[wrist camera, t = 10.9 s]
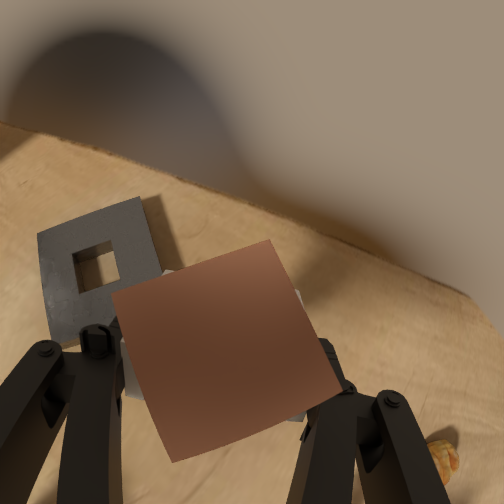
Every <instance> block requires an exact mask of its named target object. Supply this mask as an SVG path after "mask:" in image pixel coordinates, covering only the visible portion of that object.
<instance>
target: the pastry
mask: <svg viewBox="0 0 504 504" xmlns="http://www.w3.org/2000/svg"><path fill="white" fill-rule="evenodd" d="M427 446H428V448H429V451H430V453H431V455H432V458H433V460H434V463H435V465H436V467H437V470H438V472H439V475H440V477H441V480H442V482H443V485H445V484H446V483H448V482H449V480H450V477H451V476H452V475H453V474H454V473H455V472H457V470H458V468H459V456H458V454H457V452H456V450H455V448H454V446H453V445H452V444H451V443H449V442H448V441H447V440H445V439H442V440H438V441H434V442H430V443H428V444H427Z"/></svg>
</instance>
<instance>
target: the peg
mask: <svg viewBox="0 0 504 504" xmlns="http://www.w3.org/2000/svg"><path fill="white" fill-rule="evenodd" d="M111 296H112V300H113V304H114V307H115V311H116V315H117V318H118V322H119V325H120V329H121V332H122V335H123V339H124V342H125V345H126V348H127V351H128V354H129V357H130V360H131V363H132V366H133V369H134V372H135V375H136V378H137V380H138V383H139V386H140V389H141V391H142V394H143V397H144V399H145V402H146V404H147V407H148V409H149V412H150V414H151V417H152V419H153V421H154V424H155V426H156V429H157V431H158V433H159V435H160V438H161V440H162V442H163V444H164V447H165V449H166V451H167V453H168V455H169V457H170V459H171V462H172V463H174V462H177V461H181V460H184V459H187V458H190V457H193V456H196V455H199V454H202V453H205V452H208V451H211V450H214V449H217V448H220V447H222V446H225V445H228V444H230V443H233V442H236V441H238V440H241V439H243V438H246V437H248V436H251V435H253V434H256V433H258V432H260V431H263V430H265V429H267V428H270V427H272V426H274V425H276V424H279V423H281V422H283V421H285V420H287V419H289V418H292V417H294V416H296V415H298V414H300V413H302V412H304V411H306V410H308V409H310V408H312V407H314V406H316V405H318V404H320V403H322V402H324V401H326V400H327V399H329V398H331V397H333V396H335V395H337V394H339V393H340V392H342V391H343V390H342V388H341V386H340V383H339V381H338V379H337V377H336V375H335V373H334V371H333V369H332V366H331V364H330V362H329V360H328V358H327V356H326V354H325V352H324V350H323V347H322V345H321V343H320V341H319V339H318V337H317V335H316V333H315V331H314V329H313V327H312V324H311V322H310V320H309V318H308V316H307V314H306V312H305V310H304V308H303V306H302V304H301V302H300V300H299V298H298V296H297V294H296V291H295V289H294V287H293V285H292V283H291V281H290V279H289V277H288V275H287V273H286V271H285V269H284V267H283V265H282V263H281V261H280V259H279V257H278V255H277V253H276V251H275V249H274V247H273V245H272V243H271V241H270V239H269V240H266V241H263V242H260V243H257V244H254V245H251V246H248V247H245V248H242V249H239V250H236V251H233V252H230V253H227V254H224V255H221V256H218V257H215V258H212V259H209V260H206V261H204V262H201V263H198V264H195V265H192V266H189V267H186V268H183V269H180V270H177V271H174V272H171V273H168V274H165V275H163V276H160V277H157V278H154V279H151V280H148V281H145V282H142V283H139V284H136V285H133V286H131V287H128V288H125V289H122V290H119V291H116V292H113V293H111Z"/></svg>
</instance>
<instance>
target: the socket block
mask: <svg viewBox="0 0 504 504" xmlns="http://www.w3.org/2000/svg"><path fill="white" fill-rule="evenodd" d="M37 241H38V254H39V264H40V273H41V282H42V289H43V296H44V302H45V308H46V314H47V320H48V325H49V330H50V335H51V339H52V340H53V341H55V342H57V343H59V344H60V345H61V347H62V349H66V348H69V347H72V346H76V345H79V344H80V338H79V332H80V330H81V329H82V328H84V327H85V326H88V325H91V324H102V325H106V326H109V325H110V323H111V322H112V321H113V319H114V318H115V316H116V311H115V307H114V304H113V300H112V296H111V293H113V292H116V291H119V290H122V289H125V288H128V287H131V286H133V285H136V284H139V283H142V282H145V281H148V280H151V279H154V278H157V277H160V276H162V274H163V272H162V269H161V266H160V262H159V259H158V256H157V253H156V250H155V246H154V243H153V240H152V237H151V233H150V230H149V226H148V223H147V219H146V216H145V212H144V209H143V205H142V202H141V199H140V196H138V197H135V198H132V199H129V200H126V201H123V202H120V203H117V204H114V205H111V206H108V207H106V208H103V209H100V210H97V211H94V212H92V213H89V214H86V215H83V216H81V217H78V218H75V219H73V220H70V221H67V222H65V223H62V224H60V225H57V226H54V227H52V228H49V229H47V230H44V231H42V232H39V233H37ZM111 251H114V255H115V259H116V264H117V268H118V272H119V276H120V279H121V280H119V281H116V282H113V283H110V284H107V285H104V286H101V287H98V288H95V289H92V290H90V291H87V292H85V289H84V284H83V279H82V274H81V268H80V262H82V261H85V260H88V259H91V258H94V257H96V256H99V255H102V254H105V253H108V252H111Z"/></svg>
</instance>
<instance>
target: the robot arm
mask: <svg viewBox="0 0 504 504" xmlns="http://www.w3.org/2000/svg"><path fill="white" fill-rule="evenodd" d="M171 272H174V271H172V270H165V271H164V273H163V274H162V276H163V275H165V274H168V273H171ZM295 291H296V294H297V296H298V298H299V300H300V302H301V304H302V306H303V302H302V299H301V296H300V292H299V290H296V289H295ZM303 308H304V306H303ZM304 310H305V309H304ZM79 338H80V344H81V351H82V352H62V347H61V345H60V344H59V343H57V342H55V341H53V340H42V341H39V342H36V343H35V344H34V345H33V346H32V347H31V348H30V349H29V350H28V352H27V353H26V354H25V355H24V356H23V358H22V359H21V360H20V361H19V363H18V364H17V365H16V366H15V368H14V369H13V370H12V371H11V373H10V374H9V375H8V377H7V378H6V379H5V380H4V382H3V383H2V384H1V386H0V504H26V503H27V501H28V498H29V496H30V493H31V491H32V489H33V486H34V484H35V482H36V479H37V477H38V475H39V473H40V470H41V468H42V466H43V464H44V461H45V459H46V457H47V455H48V453H49V451H50V449H51V446H52V444H53V442H54V440H55V438H56V436H57V434H58V432H59V430H60V428H61V426H62V424H63V422H64V420H65V418H66V416H67V421H66V427H65V433H64V439H63V446H62V453H61V461H60V470H59V480H58V492H57V504H123V495H122V473H121V413H122V400H121V393H122V391H123V389H124V387H125V395H126V396H128V397H132V398H136V399H140V400H144V397H143V394H142V391H141V389H140V386H139V383H138V380H137V378H136V375H135V372H134V369H133V366H132V363H131V360H130V357H129V354H128V351H127V348H126V345H125V342H124V339H123V335H122V332H121V329H120V325H119V322H118V318H117V315H116V316H115V318H114V319H113V321H112V322H111V323H110V325H109V326H106V325H102V324H91V325H88V326H85V327H84V328H82V329H81V330H80V332H79ZM318 339H319V341H320V343H321V345H322V347H323V350H324V352H325V354H326V356H327V358H328V360H329V362H330V364H331V366H332V369H333V371H334V373H335V375H336V377H337V379H338V381H339V383H340V386H341V388H342V390H343V391H342V392H340V393H339V394H337V395H335V396H333V397H331V398H329V399H327V400H326V401H324V402H322V403H320V404H318V405H316V406H314V407H312V408H310V409H308V410H306V411H304V412H302V413H300V414H298V415H296V416H294V417H292V418H289V419H287V420H285V421H295V422H303V420H304V417H305V415H306V413H307V419H308V422H307V425H306V427H305V429H304V431H303V433H302V435H301V438H300V440H301V441H302V442H301V447H300V451H299V455H298V459H297V464H296V468H295V472H294V476H293V479H292V483H291V487H290V491H289V494H288V498H287V502H286V504H351V500H352V490H353V479H354V466H355V458H356V463H357V467H358V471H359V476H360V480H361V485H362V490H363V494H364V499H365V504H451V503H450V500H449V498H448V495H447V493H446V490H445V487H444V485H443V482H442V480H441V477H440V475H439V472H438V470H437V467H436V465H435V463H434V460H433V458H432V455H431V453H430V451H429V448H428V446H427V444H426V441H425V439H424V437H423V435H422V432H421V430H420V428H419V426H418V423H417V421H416V419H415V417H414V415H413V412H412V410H411V408H410V406H409V404H408V402H407V400H406V399H405V397H404V396H403V395H401V394H400V393H398V392H396V391H394V390H382V391H381V392H379V393H378V395H377V397H371V396H367V395H363V394H360V393H358V392H357V389H356V387H355V386H354V384H353V383H351V382H350V381H348V380H346V379H345V377H344V374H343V372H342V369H341V366H340V363H339V361H338V358H337V355H336V352H335V350H334V347H333V345H332V344H331V343H330V342H329V341H328V340H327V339H324V338H318ZM67 414H68V415H67Z"/></svg>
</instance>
